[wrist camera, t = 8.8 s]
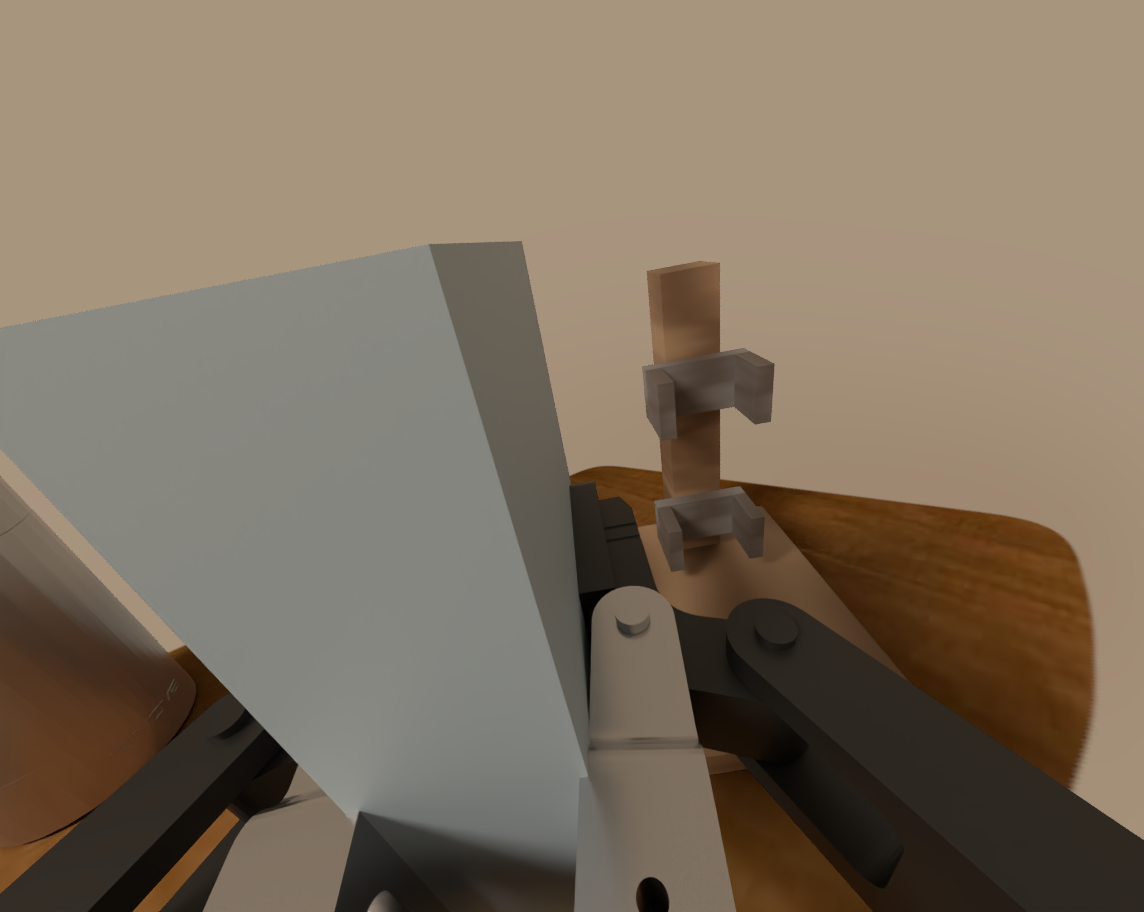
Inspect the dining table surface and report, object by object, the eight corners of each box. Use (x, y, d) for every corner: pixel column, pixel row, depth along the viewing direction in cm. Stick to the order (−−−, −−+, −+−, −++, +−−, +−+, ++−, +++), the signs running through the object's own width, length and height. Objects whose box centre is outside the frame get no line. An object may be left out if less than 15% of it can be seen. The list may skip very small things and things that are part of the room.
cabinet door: (541, 1021, 8) (-97, 348, 2) (544, 650, 16) (424, 261, 9) (657, 1006, 8) (429, 245, 2) (605, 640, 16) (525, 241, 9)
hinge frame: (661, 782, 18) (603, 343, 9) (610, 547, 32) (568, 285, 23) (933, 739, 18) (1146, 243, 9) (760, 521, 32) (776, 246, 23)
